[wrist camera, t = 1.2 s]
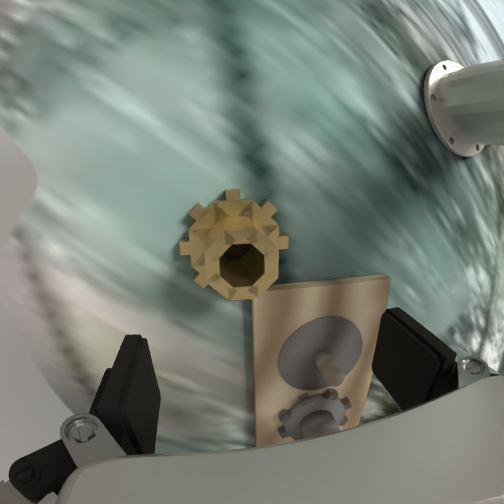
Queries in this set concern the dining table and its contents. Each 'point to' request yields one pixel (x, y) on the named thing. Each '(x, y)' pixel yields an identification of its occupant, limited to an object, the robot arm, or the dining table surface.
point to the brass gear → (234, 232)
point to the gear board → (314, 355)
